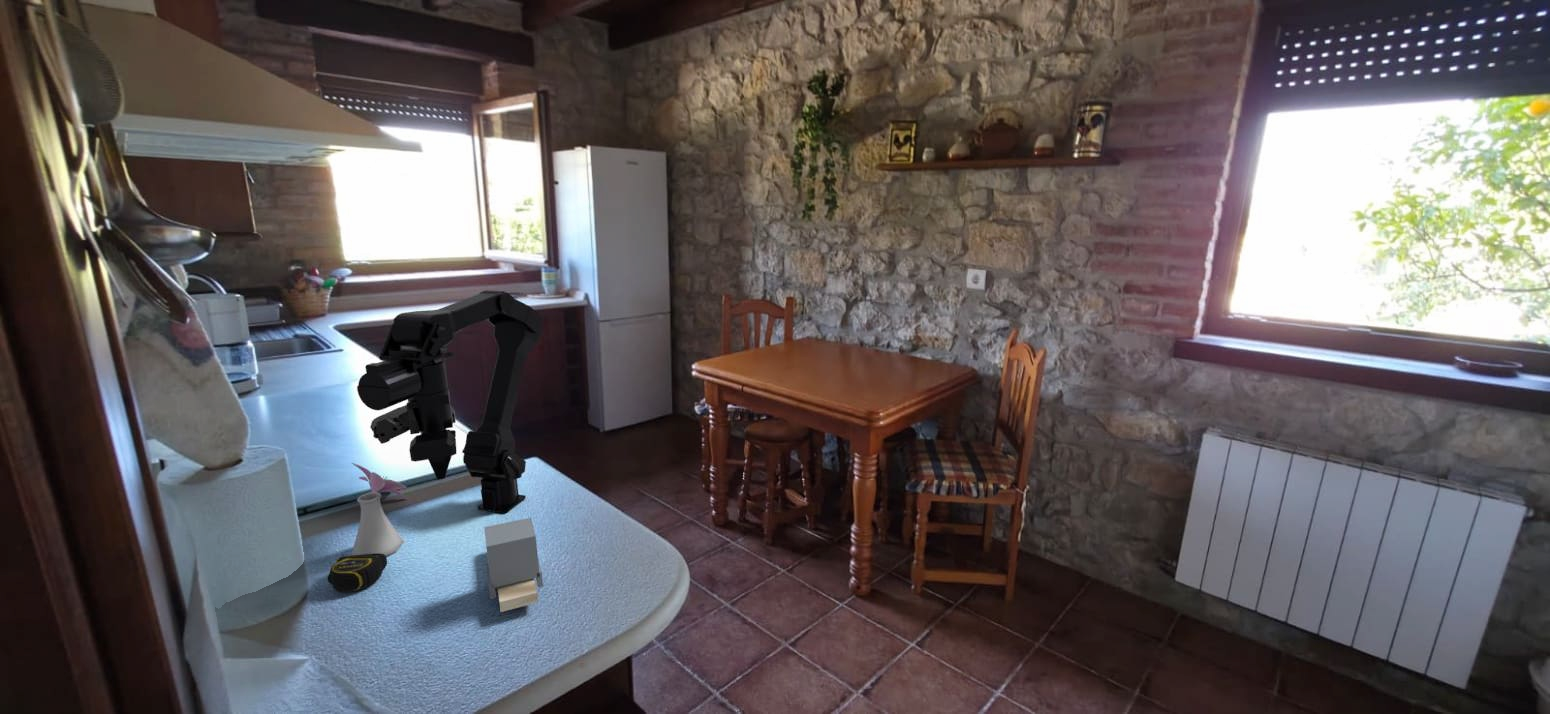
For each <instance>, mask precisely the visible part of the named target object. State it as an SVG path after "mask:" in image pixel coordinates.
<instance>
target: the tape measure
mask: <svg viewBox="0 0 1550 714" xmlns="http://www.w3.org/2000/svg"><path fill="white" fill-rule="evenodd" d="M387 564H388V559H387V556H385V555H384V554H381V553H374V554H362V555H353V556H351V555H343V556H340V557H338V559H337V560H336V562H335V563H334V564H333V565H332V566H331V567H330V570H329V573H328V574H327V582H328V583H329V584H330V585H331V586H332V588H333V590H334V591H337V592H352V591H353V592H354V591H357V590H361V589H362V590H363V589H364V588H367V587H369V586H371V585H373V584H374V583H375V582H377V581H378V580H380V578H381V576H382V575H383V571H385V568H386V566H387Z"/></svg>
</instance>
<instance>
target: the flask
mask: <svg viewBox="0 0 1550 714" xmlns="http://www.w3.org/2000/svg"><path fill="white" fill-rule="evenodd" d="M381 498H382V493H381V492H372V491H371V492H367V493H364V494H361V495H360V496H359V497H358V498H357V499H356V501H357V502H358V503H359V506H360V521H359V525H358V529H357V533H356V536H355V541H354V544H353V547H352V550H351V551H352V552H351V555H350V556H353V555H362V554H374V553H381V554H384V555H385V556H386V557H387V556H389V555H391V554H394V553H396V552H397V551H399V550H400V548H401V547H402V545H403V544H404V543H405V541H404V539H403V538H402V537H401V535H400V534H399V533H398V531H397V529H395V527H394V526H393V524H392V523H391V522H390V520H389V518H388V517H387V515H386V514H385V511H384V509H383V507H382V504H381Z"/></svg>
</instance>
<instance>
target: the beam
mask: <svg viewBox="0 0 1550 714" xmlns="http://www.w3.org/2000/svg"><path fill="white" fill-rule="evenodd" d="M497 593H498V601H499V602H498V603H499V609H500V611H499V612H500V613H504V612H506V611H511V610H514V609H517V608H518V609H519V608H521V607H522V608H523V607H525V606H529V605H533V604H536V603H539V598H538V597H539V596H538V591H537V586H536V580H535V578H533V579H529V580H525V581H521V582H517V583H513V584H509V585H505V586H501V587H497Z"/></svg>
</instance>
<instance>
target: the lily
mask: <svg viewBox="0 0 1550 714" xmlns="http://www.w3.org/2000/svg"><path fill="white" fill-rule="evenodd" d="M351 464H352V465H354V466H355V467H356V468H358V469H359V470H360V471H362V473H363V474H364V475H365V476H359V477H358V479H359V480H362V481H366V482H367V483H368V484H369V487H370V490H371V492H378V493H388V492H391V493H393V494H395V495H398V496H399V497H401V498H403V499H405V500H408V498H407V497H406V496H405V495H404V494H403V493H401V492H400V491H399V490H401V489H407V486H406V485H404V484H402V483H401V482H398V481H395V480H392V479H388V476H385V477H384V476H383V477H382V476H381V475H380V474H378V473H376V472H374V471H371V470H369V469H367V468H365V467H363V466H362V465H359V464H356V463H354V462H351Z"/></svg>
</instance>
